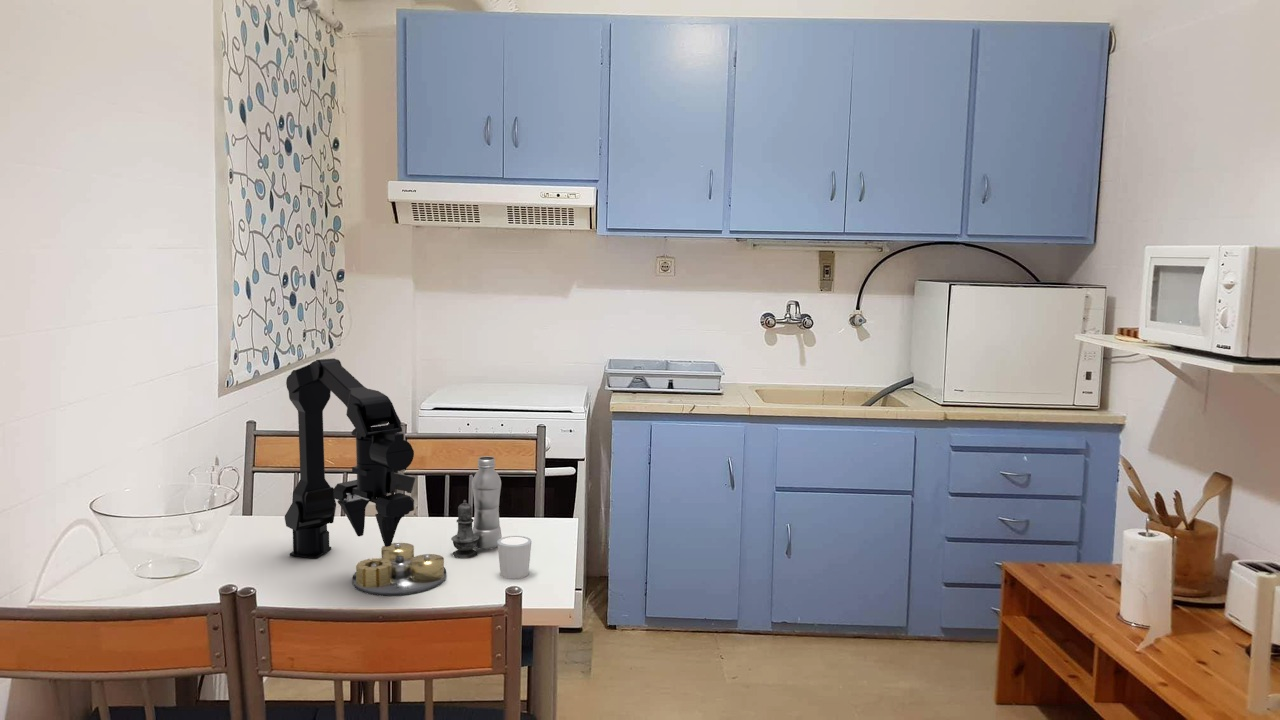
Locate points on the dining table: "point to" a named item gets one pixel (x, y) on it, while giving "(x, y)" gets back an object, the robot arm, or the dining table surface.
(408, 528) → the dining table surface
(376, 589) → the carrier
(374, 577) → the gear
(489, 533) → the plastic bottle
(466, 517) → the salt shaker
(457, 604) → the dining table surface
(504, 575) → the shot glass
